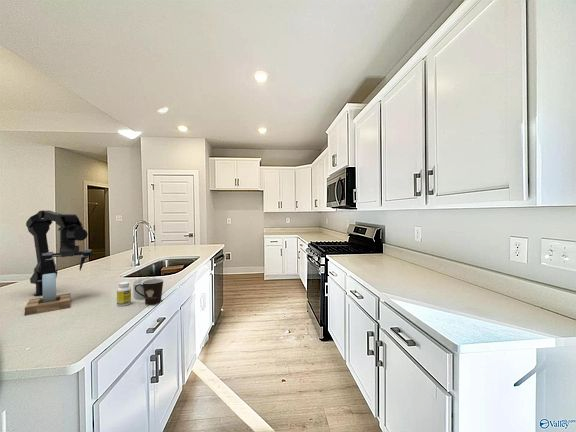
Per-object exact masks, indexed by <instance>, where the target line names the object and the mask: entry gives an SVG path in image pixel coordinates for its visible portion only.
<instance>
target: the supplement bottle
mask: <svg viewBox="0 0 576 432" xmlns="http://www.w3.org/2000/svg"><path fill="white" fill-rule="evenodd" d="M118 286H119V287H118V288H117V289H116V305H117V307H124V306H128V305H130V304H131V303H132V288H131V287H130V281H122V282H118Z"/></svg>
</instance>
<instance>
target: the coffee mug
mask: <svg viewBox="0 0 576 432" xmlns="http://www.w3.org/2000/svg"><path fill="white" fill-rule="evenodd" d="M150 279H151V278H150ZM139 285H140V286H142V287H143V289H144V295H143V294H141V293H139V292H138V291H137V290H136V287H137V286H139ZM163 287H164V279H161V278H156V279H151V280H146V281H143V285H142V284H138V285H136V286H135V291H136V292H137V293H138V294H140V295H141V296H143V297H144V298H145V299H144V304H145V305H146V306H154V305H158V304H160V303H161V302H162V295H163Z"/></svg>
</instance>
